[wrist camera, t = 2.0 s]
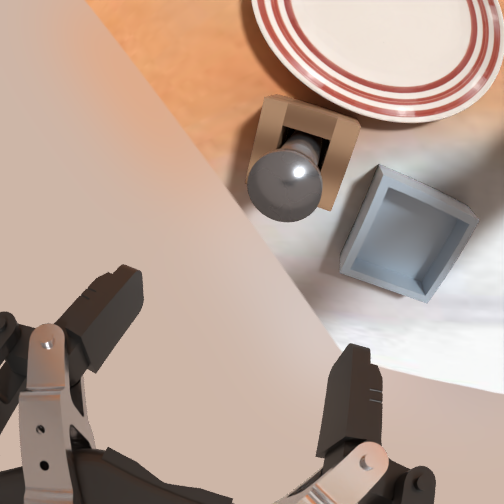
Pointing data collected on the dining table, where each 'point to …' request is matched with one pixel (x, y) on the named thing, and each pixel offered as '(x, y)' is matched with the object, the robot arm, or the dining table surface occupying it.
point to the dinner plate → (389, 52)
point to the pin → (288, 179)
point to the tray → (406, 236)
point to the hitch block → (313, 122)
